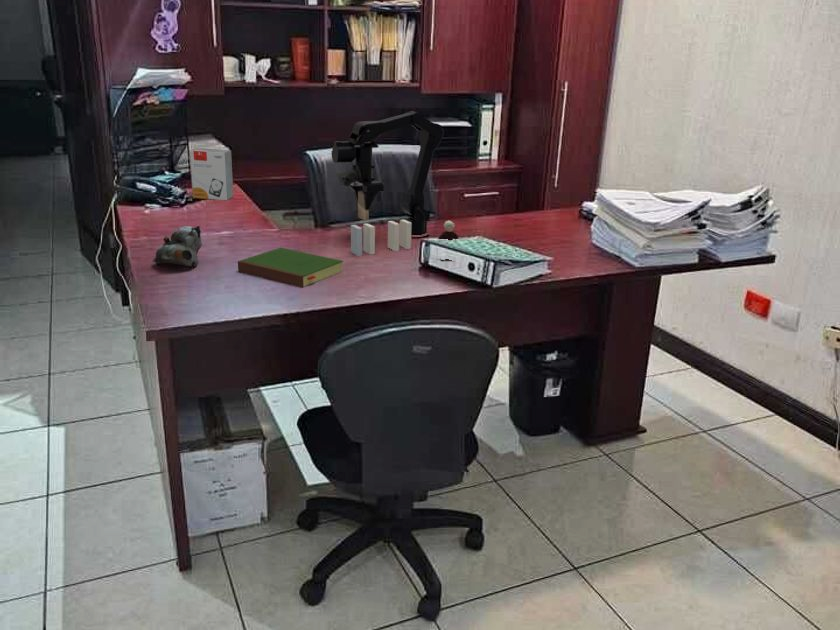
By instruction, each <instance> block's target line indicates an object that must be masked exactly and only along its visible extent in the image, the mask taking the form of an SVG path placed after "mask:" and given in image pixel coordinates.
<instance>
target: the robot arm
mask: <svg viewBox="0 0 840 630" xmlns="http://www.w3.org/2000/svg"><path fill="white" fill-rule="evenodd" d="M409 126H412V127H413V128H414V129H416V130H417V131H418V132H419V136H418V138H419V146H420V147H419V152H418V156H417V160H416V163H415V168H414V171H413V172H414V173H413V175H412V179H411V180H412V181H411V183H410V187H409V188H408V190H407V192H406V191H402V194H401V195H402V197H401V200H400V201H399V203H400V204H401V206H400V208H401V210H402V211H403V212H404V215H405V216H406V217H407V219H406V221H409V222H411V223H412V225H411V235H422V234H425V233H427V230H428V222H429V220H430V217H431V214H430V213H429V212H428V211H427V209H425V204H426V203H425V202H426V201H425V200H426V199H425V194H424V192H425V187H426V183H427V179H428V175H429V172H430V168H431V163H432V160H433V156H434V152H435V150H436V149H437V147H438V146H439V145H440V144H441V141H442V138H443V136H444V128H443V126H442V125H441V124H440V123H436V122H432V120H430V119H427V118H426V117H424V116H423V115H421V114H420V113H419V112H417V111H414V110H412V111H410V110H409V111H408V112H406V113H403V114H399V115H394V116H390V117H388V118H384V119H379V120H366V121H358V122H355V123H354V126H353V127H352V131H351V133H350V134H349V136H348V137H347V139H346V140H345V141H339V140H337V141H334V142H333V146H332V150H331V159H332V162H333V163H334V164H339V163H341V164H342V163H352V162H354V163H353V164H352V165H351V169H349V170H345V171H344V172H342V173H339V174H338V175H337V177H338V180H339V183H340V185H343V186H344V187H349V188H350V189H351V190H353V193H354V196H355V199H356V203H357V205H358V191H360V192H361V193H362V194H363V195H364V205H365V210H369V211H370V208H371V205H372V203H373V202H374V200H375V197H376V196H377V195H378V193H381V192H385V184H383V183H382V182H381V181H378V180H375V177H373V169H375V165H374V164H373V149H377V148H379V144H377V142H376V141H375V139H378V138H379V137H380V136H381V135H382V134H384V133H389V132H392V131H396V130H399V129H403V128H406V127H409ZM427 234H428V233H427Z"/></svg>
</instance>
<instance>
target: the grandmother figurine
mask: <svg viewBox="0 0 840 630" xmlns="http://www.w3.org/2000/svg"><path fill="white" fill-rule="evenodd" d="M443 228H444V230H445V231H443V232H442V233H441V234H440V235H439V237H438V238H437V240H438V239H448V240H453V241H454V240H456V239H459V240H460V238H459V237H460V236H459V235H458V234H457V233H456V232H454V231H453V229H454V228H455V223H454V222H453V221H451V220H446V221H445V222H444V224H443Z"/></svg>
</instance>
